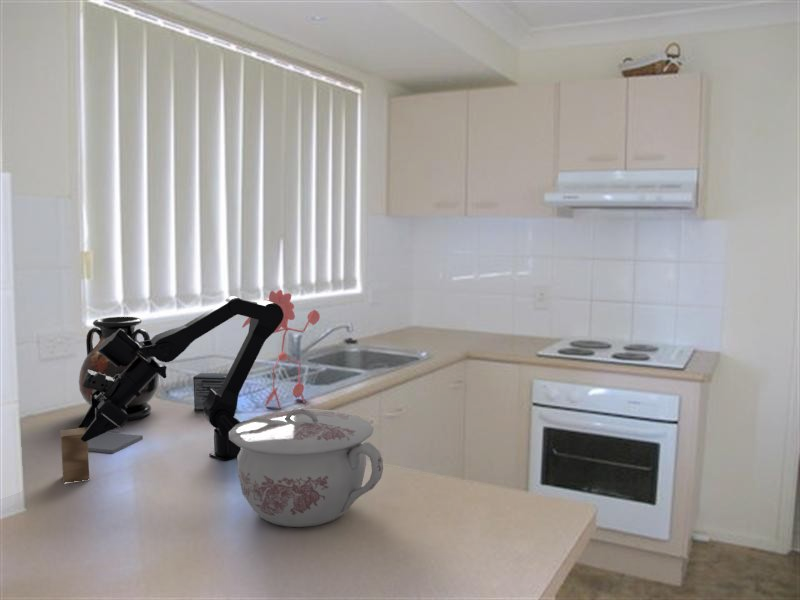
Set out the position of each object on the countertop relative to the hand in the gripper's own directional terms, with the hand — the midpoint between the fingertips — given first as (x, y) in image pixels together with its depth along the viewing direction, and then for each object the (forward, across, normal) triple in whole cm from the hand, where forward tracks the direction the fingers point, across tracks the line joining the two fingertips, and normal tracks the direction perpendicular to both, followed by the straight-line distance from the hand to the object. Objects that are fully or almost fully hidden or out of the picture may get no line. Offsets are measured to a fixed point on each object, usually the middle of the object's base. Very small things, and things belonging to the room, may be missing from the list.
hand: (81, 434), depth 154 cm
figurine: (-35, -42, +48) cm, 73 cm away
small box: (-21, -43, +34) cm, 59 cm away
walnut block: (+8, 0, +6) cm, 10 cm away
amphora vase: (-2, -48, +16) cm, 51 cm away
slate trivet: (+2, -22, +12) cm, 25 cm away
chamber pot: (-19, +40, +33) cm, 55 cm away
